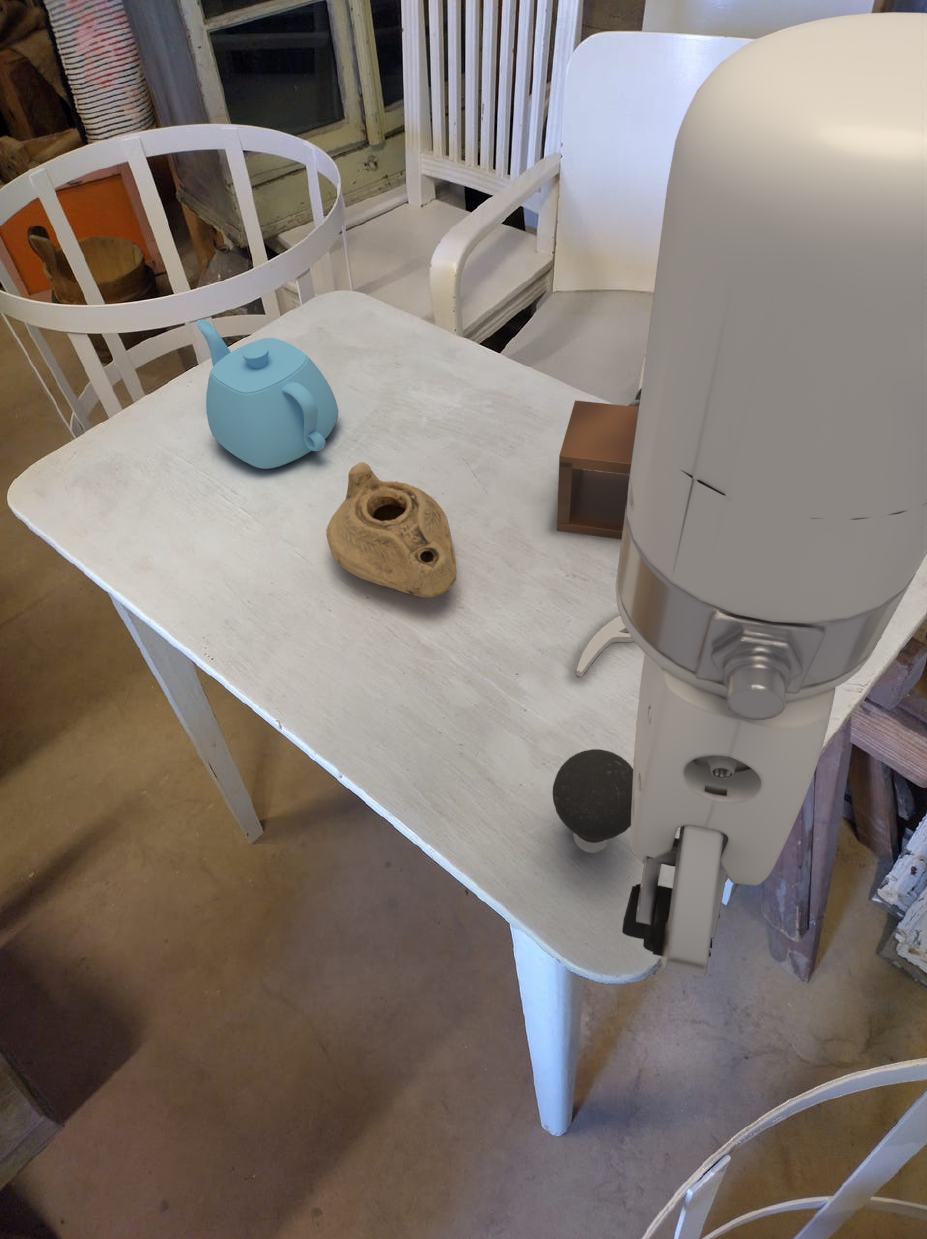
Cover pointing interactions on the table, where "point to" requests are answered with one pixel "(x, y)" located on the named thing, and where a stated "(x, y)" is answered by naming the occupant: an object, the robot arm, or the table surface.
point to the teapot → (266, 400)
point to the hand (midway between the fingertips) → (670, 827)
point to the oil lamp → (392, 535)
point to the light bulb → (594, 797)
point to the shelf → (592, 502)
